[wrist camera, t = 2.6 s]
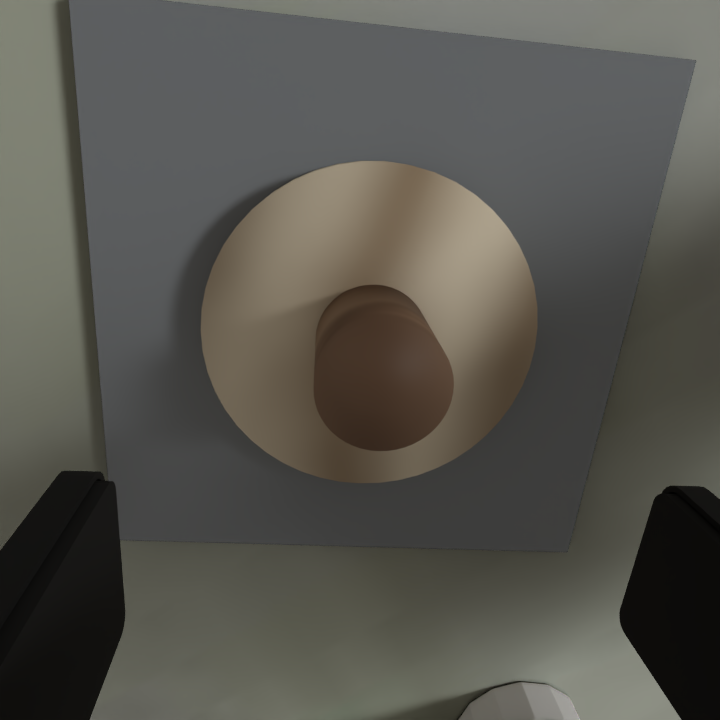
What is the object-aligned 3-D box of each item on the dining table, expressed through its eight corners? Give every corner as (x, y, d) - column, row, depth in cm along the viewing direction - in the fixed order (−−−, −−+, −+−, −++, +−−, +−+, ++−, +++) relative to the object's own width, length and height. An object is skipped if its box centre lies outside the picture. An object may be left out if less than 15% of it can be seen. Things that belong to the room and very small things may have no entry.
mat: (685, 62, 19) (696, 60, 19) (562, 543, 26) (567, 552, 26) (76, -5, 17) (67, -11, 17) (117, 530, 24) (113, 539, 24)
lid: (554, 174, 20) (638, 185, 14) (498, 471, 24) (548, 563, 19) (203, 146, 19) (156, 146, 13) (210, 462, 23) (176, 556, 18)
